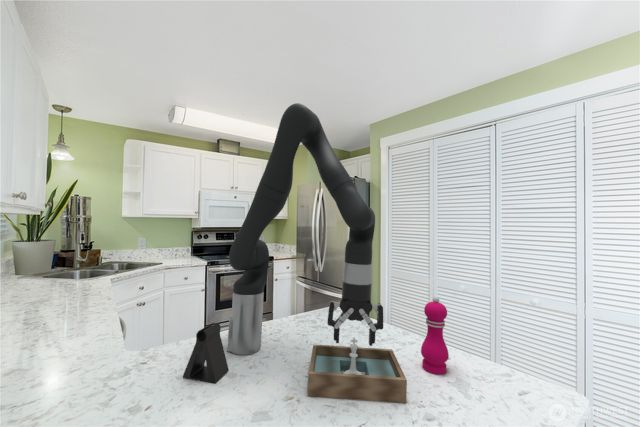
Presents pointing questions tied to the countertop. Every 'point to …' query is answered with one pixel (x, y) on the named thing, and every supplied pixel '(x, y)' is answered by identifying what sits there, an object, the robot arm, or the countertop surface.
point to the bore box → (376, 385)
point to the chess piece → (353, 359)
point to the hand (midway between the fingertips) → (353, 343)
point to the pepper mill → (435, 338)
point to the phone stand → (207, 356)
